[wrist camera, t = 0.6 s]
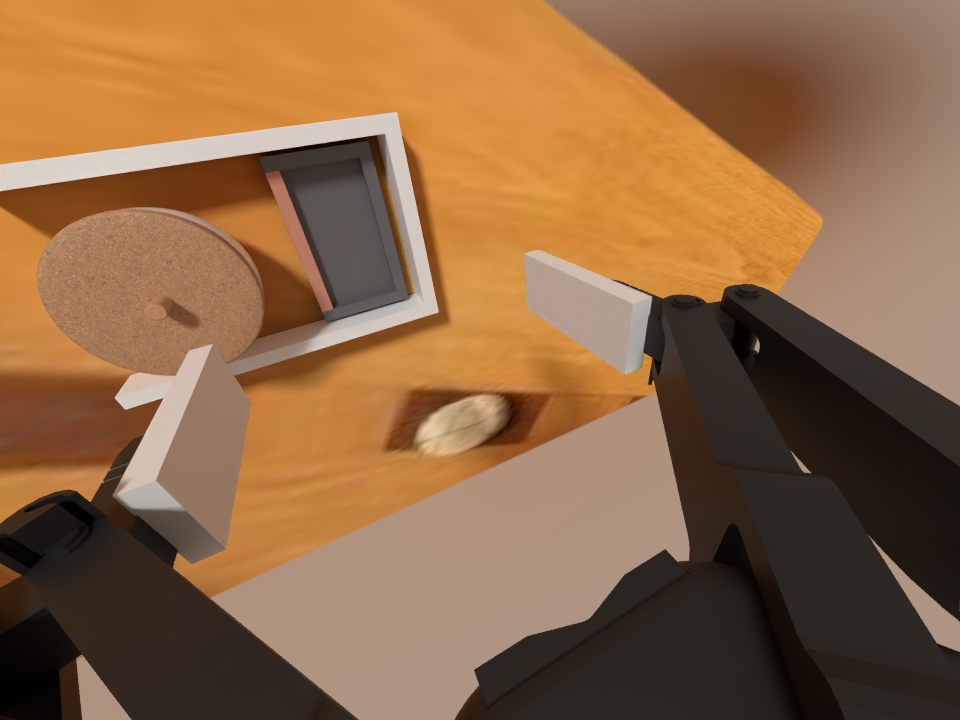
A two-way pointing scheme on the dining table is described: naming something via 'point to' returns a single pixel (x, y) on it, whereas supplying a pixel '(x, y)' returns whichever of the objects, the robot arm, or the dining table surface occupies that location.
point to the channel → (202, 149)
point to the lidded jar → (151, 288)
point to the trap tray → (338, 226)
